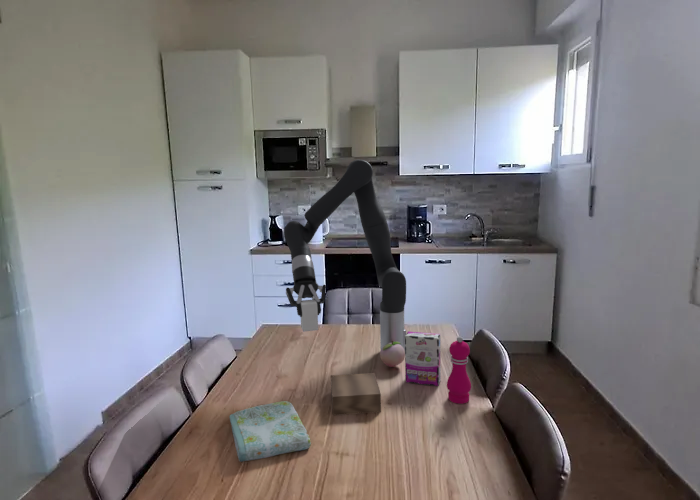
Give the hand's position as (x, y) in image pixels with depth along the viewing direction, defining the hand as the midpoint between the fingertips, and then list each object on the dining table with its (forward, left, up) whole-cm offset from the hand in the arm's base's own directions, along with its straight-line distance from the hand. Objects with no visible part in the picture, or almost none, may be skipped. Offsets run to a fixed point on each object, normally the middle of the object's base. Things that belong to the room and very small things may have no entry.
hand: (309, 314), depth 145 cm
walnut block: (-11, +15, -24) cm, 31 cm away
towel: (+16, +27, -25) cm, 40 cm away
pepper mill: (-42, +22, -24) cm, 53 cm away
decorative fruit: (-30, -5, -24) cm, 39 cm away
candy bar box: (-36, +8, -24) cm, 44 cm away
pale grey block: (0, -2, -5) cm, 6 cm away
